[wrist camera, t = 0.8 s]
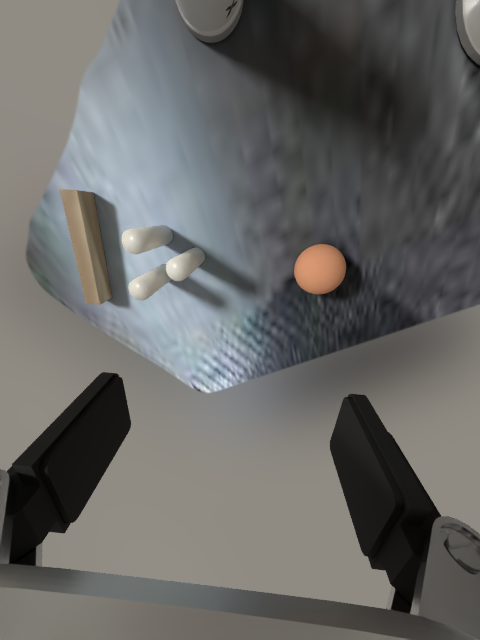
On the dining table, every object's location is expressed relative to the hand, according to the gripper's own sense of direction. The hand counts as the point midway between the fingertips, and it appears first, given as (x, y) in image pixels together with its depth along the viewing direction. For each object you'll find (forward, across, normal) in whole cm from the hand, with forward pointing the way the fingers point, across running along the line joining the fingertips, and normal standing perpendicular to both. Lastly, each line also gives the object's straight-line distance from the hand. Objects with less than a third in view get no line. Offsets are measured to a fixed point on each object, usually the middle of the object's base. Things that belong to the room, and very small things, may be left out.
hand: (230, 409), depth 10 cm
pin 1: (+25, +12, -4) cm, 28 cm away
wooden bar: (+25, +21, -2) cm, 33 cm away
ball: (+22, -9, -2) cm, 24 cm away
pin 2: (+25, +12, +1) cm, 27 cm away
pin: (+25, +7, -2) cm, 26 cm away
